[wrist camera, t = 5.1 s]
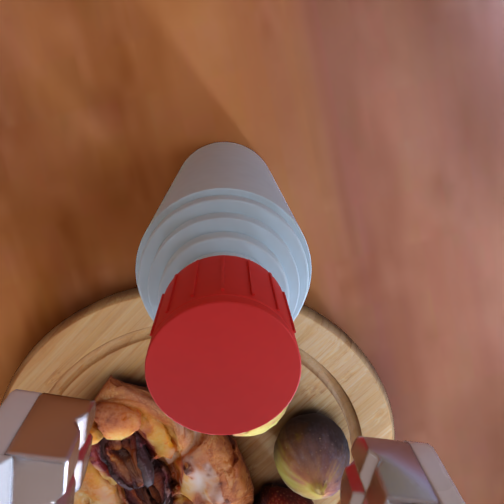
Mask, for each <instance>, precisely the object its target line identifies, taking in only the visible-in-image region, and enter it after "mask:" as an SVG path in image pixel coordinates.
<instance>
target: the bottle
mask: <svg viewBox="0 0 504 504" xmlns="http://www.w3.org/2000/svg"><path fill="white" fill-rule="evenodd" d="M218 255H229V256H237V257H241V258H245V259H249V260H250V261H253V262H255V263H257V264H258V265H260V266H262V267H263V268H264V269H266V270H267V271H268V272H270V273H272V276H273V277H274V278H275V280H276V281H277V282H278V284H279V286H280V287H281V290H282V292H285V295H286V298H287V302H288V305H289V309H290V312H291V316H292V319H293V321H294V320H295V318H296V317H297V315H298V314H299V312H300V310H301V308H302V306H303V304H304V301H305V299H306V296H307V293H308V290H309V286H310V281H311V269H312V267H311V256H310V252H309V248H308V245H307V242H306V240H305V237H304V235H303V233H302V231H301V229H300V227H299V226H298V224H297V222H296V220H295V218H294V216H293V214H292V212H291V210H290V208H289V207H288V205H287V203H286V201H285V199H284V197H283V195H282V193H281V191H280V189H279V188H278V186H277V184H276V182H275V180H274V178H273V176H272V174H271V172H270V170H269V169H268V167H267V165H266V164H265V162H264V161H263V160H262V159H261V157H260V156H259V155H258V154H256V153H255V152H254V151H252V150H251V149H249V148H247V147H245V146H243V145H240V144H236V143H231V142H217V143H212V144H208V145H206V146H204V147H201V148H200V149H198V150H196V151H195V152H194V153H192V154H191V155H190V156H189V157H188V158H187V159H186V161H185V162H184V163H183V165H182V167H181V168H180V170H179V172H178V174H177V176H176V178H175V179H174V181H173V183H172V185H171V187H170V188H169V190H168V192H167V194H166V196H165V197H164V199H163V201H162V203H161V205H160V206H159V208H158V210H157V212H156V214H155V215H154V217H153V219H152V221H151V223H150V224H149V226H148V228H147V230H146V232H145V234H144V235H143V237H142V240H141V242H140V245H139V248H138V252H137V257H136V268H135V272H136V282H137V286H138V291H139V294H140V296H141V299H142V301H143V304H144V306H145V309H146V310H147V312H148V314H149V316H150V317H151V319H152V320H153V322H154V319H155V316H156V313H157V309H158V306H159V303H160V300H161V296H162V294H165V291H166V289H167V287H168V285H169V284H170V282H171V281H172V280H173V278H174V276H175V274H178V273H179V272H180V271H181V270H182V269H184V268H185V267H186V266H188V265H190V264H192V263H193V262H195V261H197V260H200V259H203V258H207V257H211V256H218Z"/></svg>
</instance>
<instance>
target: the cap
mask: <svg viewBox="0 0 504 504" xmlns="http://www.w3.org/2000/svg"><path fill="white" fill-rule="evenodd" d="M295 333H296V330H295V326H294V323H293V319H292V316H291V312H290V309H289V305H288V302H287V298H286V295H285V292H282V290H281V287H280V286H279V284H278V282H277V281H276V280H275V278H274V277H273V276H272V273H270V272H268V271H267V270H266V269H264V268H263V267H262V266H260V265H258V264H257V263H255V262H253V261H250V260H249V259H245V258H241V257H237V256H229V255H218V256H211V257H207V258H203V259H200V260H197V261H195V262H193V263H192V264H190V265H188V266H186V267H185V268H184V269H182V270H181V271H180V272H179V273H178V274H175V276H174V278H173V280H172V281H171V282H170V284H169V285H168V287H167V289H166V291H165V294H162V296H161V300H160V303H159V306H158V309H157V313H156V316H155V319H154V323H153V326H152V329H151V332H150V336H151V340H150V344H149V347H148V350H147V354H146V358H145V379H146V383H147V387H148V389H149V392H150V394H151V396H152V398H153V400H154V401H155V403H156V404H157V405H158V407H159V408H160V409H161V410H162V411H163V412H164V413H165V414H166V415H167V416H168V417H169V418H171V419H172V420H173V421H175V422H176V423H178V424H180V425H182V426H183V427H186V428H188V429H190V430H193V431H196V432H200V433H205V434H210V435H233V434H240V433H244V432H248V431H251V430H253V429H256V428H258V427H260V426H262V425H264V424H266V423H268V422H269V421H271V420H272V419H274V418H275V417H276V416H278V415H279V414H280V413H281V412H282V411H283V410H284V409H285V408H286V407H287V405H288V404H289V403H290V401H291V400H292V398H293V396H294V394H295V392H296V391H297V388H298V385H299V382H300V377H301V368H302V364H301V355H300V352H299V348H298V344H297V341H296V337H295Z"/></svg>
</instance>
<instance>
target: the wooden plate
mask: <svg viewBox="0 0 504 504" xmlns="http://www.w3.org/2000/svg"><path fill="white" fill-rule="evenodd" d="M153 323H154V322H153V320H152V319H151V317H150V316H149V314H148V312H147V310H146V309H145V306H144V304H143V301H142V299H141V296H140V294H139V291H138V287H136V288H133V289H129V290H126V291H122V292H119V293H116V294H113V295H110V296H108V297H105V298H103V299H101V300H99V301H97V302H95V303H93V304H91V305H89V306H87V307H85V308H83V309H81V310H79V311H78V312H76V313H74V314H73V315H71V316H70V317H68V318H67V319H65V320H64V321H63V322H61V323H60V324H59V325H57V326H56V327H55V328H53V329H52V330H51V331H50V332H49V333H48V334H46V335H45V336H44V337H43V338H42V339H41V340H40V341H39V342H38V343H37V344H36V345H35V346H34V348H33V349H32V350H31V351H30V352H29V354H28V355H27V356H26V358H25V359H24V361H23V362H22V363H21V365H20V366H19V368H18V369H17V371H16V372H15V374H14V376H13V378H12V379H11V381H10V383H9V386H8V388H7V390H6V392H5V395H4V397H3V400H2V403H3V402H4V400H5V399H6V398H7V396H8V395H9V393H11V392H12V391H14V390H15V389H20V390H27V391H34V392H40V393H49V394H55V395H62V396H68V397H75V398H81V399H88V400H94V401H95V402H96V411H95V419H94V422H93V424H92V427H91V430H90V433H91V435H92V436H93V439H92V447H91V453H90V458H89V462H88V466H87V470H86V473H85V477H84V480H83V483H82V486H81V488H80V489H79V490H78V491H77V492H75V495H74V504H341V501H340V486H341V479H342V475H343V472H344V469H345V467H346V466H348V465H349V464H350V463H351V462H353V461H354V459H353V456H352V453H351V448H352V446H353V443H354V440H355V439H356V438H357V437H358V436H366V437H374V438H382V439H390V440H395V432H394V422H393V415H392V410H391V405H390V402H389V399H388V396H387V393H386V391H385V389H384V386H383V384H382V382H381V380H380V378H379V376H378V375H377V373H376V371H375V369H374V367H373V366H372V364H371V363H370V362H369V360H368V359H367V357H366V356H365V355H364V353H363V352H362V351H361V350H360V349H359V347H358V346H357V345H356V344H355V343H354V342H353V341H352V340H351V339H350V338H349V337H348V335H347V334H346V333H345V332H343V331H342V330H341V329H340V328H338V327H337V326H336V325H334V324H333V323H332V322H330V321H329V320H328V319H326V318H325V317H323V316H322V315H320V314H319V313H317V312H316V311H314V310H312V309H311V308H309V307H307V306H305V305H303V306H302V308H301V310H300V312H299V314H298V315H297V317H296V318H295V320H294V321H293V323H294V326H295V330H296V333H295V337H296V341H297V344H298V348H299V352H300V355H301V364H302V368H301V377H300V382H299V385H298V388H297V391H296V392H295V394H294V396H293V398H292V400H291V401H290V403H289V404H288V405H287V407H286V408H285V409H284V410H283V411H282V412H281V413H280V414H279V415H278V416H276V417H275V418H274V419H272V420H271V421H269V422H268V423H266V424H264V425H262V426H260V427H258V428H256V429H253V430H251V431H248V432H244V433H240V434H233V435H210V434H205V433H200V432H196V431H193V430H190V429H188V428H186V427H183V426H182V425H180V424H178V423H176V422H175V421H173V420H172V419H171V418H169V417H168V416H167V415H166V414H165V413H164V412H163V411H162V410H161V409H160V408H159V407H158V405H157V404H156V403H155V401H154V400H153V398H152V396H151V394H150V392H149V389H148V387H147V383H146V379H145V358H146V354H147V350H148V347H149V344H150V340H151V336H150V332H151V329H152V326H153ZM2 403H1V405H2Z"/></svg>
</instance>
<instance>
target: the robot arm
mask: <svg viewBox="0 0 504 504" xmlns="http://www.w3.org/2000/svg"><path fill="white" fill-rule="evenodd" d="M95 411H96V402H95V401H94V400H88V399H81V398H75V397H68V396H62V395H55V394H49V393H40V392H34V391H27V390H20V389H15V390H14V391H12V392H11V393H9V395H8V396H7V398H6V399H5V400H4V402H3V403H2V405H1V406H0V504H74V495H75V492H77V491H78V490H79V489H80V488H81V486H82V483H83V480H84V477H85V473H86V470H87V466H88V462H89V458H90V453H91V447H92V439H93V436H92V435H91V433H90V430H91V427H92V424H93V422H94V419H95ZM351 453H352V456H353V459H354V461H353V462H351V463H350V464H349V465H348V466H346V467H345V469H344V472H343V475H342V479H341V486H340V501H341V504H465V502H464V500H463V498H462V497H461V495H460V493H459V491H458V490H457V488H456V486H455V484H454V483H453V481H452V479H451V478H450V476H449V474H448V472H447V471H446V469H445V467H444V465H443V464H442V462H441V460H440V459H439V457H438V455H437V453H436V452H435V450H434V448H433V447H432V446H431V445H429V444H428V443H422V442H413V441H398V440H390V439H382V438H374V437H366V436H358V437H357V438H356V439H355V440H354V443H353V446H352V448H351Z"/></svg>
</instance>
